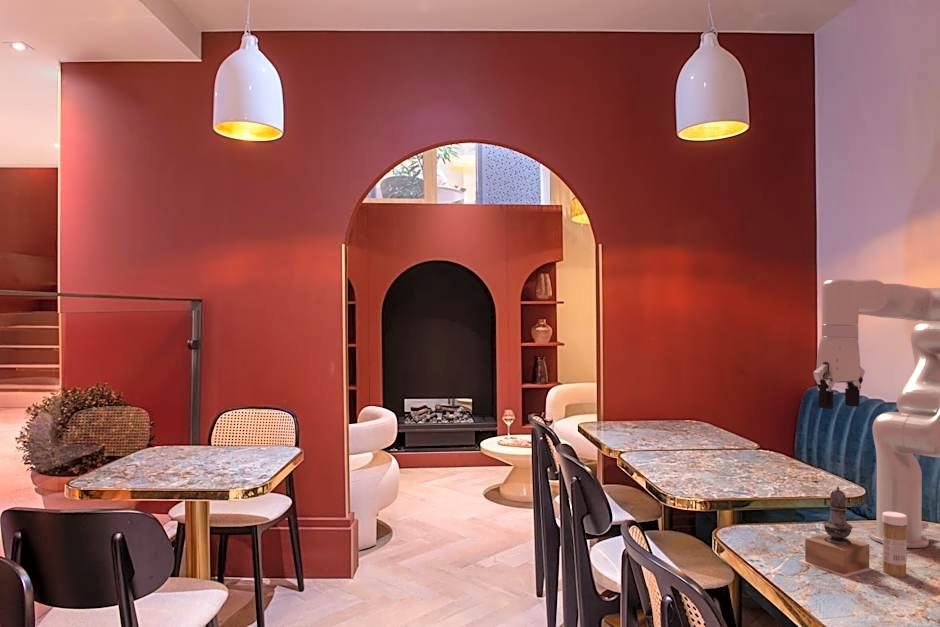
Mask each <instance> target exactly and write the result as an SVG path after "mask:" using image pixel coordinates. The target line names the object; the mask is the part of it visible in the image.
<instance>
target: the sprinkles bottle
mask: <svg viewBox="0 0 940 627" xmlns="http://www.w3.org/2000/svg"><path fill="white" fill-rule="evenodd" d="M882 521H883V543H882V572H883V573H884V574H886V575H888V576H891V577H897V578H899V577H900V578H901V577H902V578H903V577H906V576H907V551H908V550H907V549H908V548H906V527H907V516H906V515H905V514H902V513H898V512H883V513H882Z"/></svg>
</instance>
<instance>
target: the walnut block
mask: <svg viewBox="0 0 940 627" xmlns="http://www.w3.org/2000/svg"><path fill="white" fill-rule="evenodd" d="M828 536H830V535H829V534H828V533H825V534H820V535H815V536H812V537H811V536H810V537H807V538H805V539H804V540H805V541H804V542H805V543H804V544H805V545H804V546H805V547H804V549H805V550H804V559H805V561H806V562H809V563H812V564H815V565H818V566H821V567H824V568H827V569H830V570H832V571H835V572H838V573H841V574H847V573H850V572H854V571H858V570H861V569H865V568H869V566H870V543H866V542H863V541H859V540H856V539H853V538H851V537H845V538H846V539H848V540H849V541H851V544H850V545H837V544H832V543H829V542H826V541H825V540H824V538H826V537H828Z"/></svg>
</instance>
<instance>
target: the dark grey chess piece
mask: <svg viewBox="0 0 940 627" xmlns="http://www.w3.org/2000/svg"><path fill="white" fill-rule="evenodd" d="M828 508H829V519H828V520H826V521H823V522H822V524H823V528H824V531H825V533H826V534H829V535H830V536H828V537H826V538H824V540H825V541H826V542H829V543H832V544H837V545H850V544H851V541H849V540H848V539H846V538H848V537H849V536H850V534H851V533H852V529H854V528H853V527H854V526H853V525H852V524H850V523H848V521H847V519H846V517H847V516H846V514H847V510H848V508H847V507H846V494H845V492H844V491H842V490H841V489H840V487H839V486H836V490H832V491H831V492H830V505H828ZM845 537H846V538H845Z"/></svg>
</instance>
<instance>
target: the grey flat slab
mask: <svg viewBox="0 0 940 627" xmlns="http://www.w3.org/2000/svg"><path fill="white" fill-rule="evenodd" d="M798 562H801V563H804V564H805V565H810V566H813V567H816V568H818V569H821V570H824V571H827V572H830V573H833V574H836V575H838V576H841V577H844V578H846V577H849V576H854V575H858V574H861V573H865V572H868V571H872V570H876V569H877V567H875V566H871V565H869V568H865V569H861V570H858V571H854V572H850V573H847V574H841V573H838V572H835V571H832V570H830V569H827V568H824V567H821V566H818V565H815V564H812V563H809V562H806V561H805V558H803V559H799V560H798Z"/></svg>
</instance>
